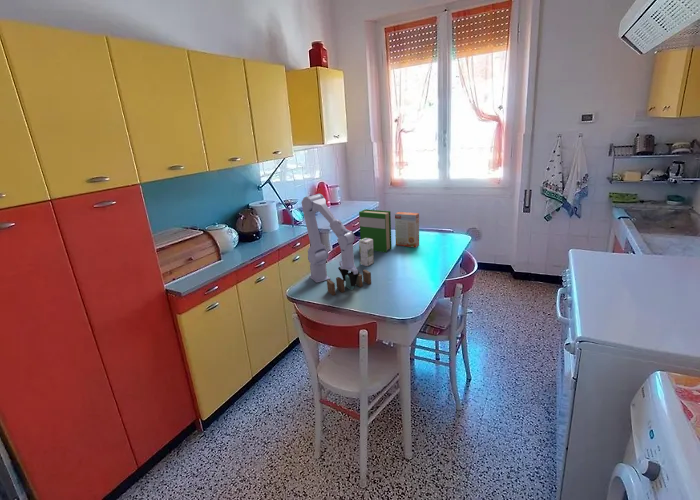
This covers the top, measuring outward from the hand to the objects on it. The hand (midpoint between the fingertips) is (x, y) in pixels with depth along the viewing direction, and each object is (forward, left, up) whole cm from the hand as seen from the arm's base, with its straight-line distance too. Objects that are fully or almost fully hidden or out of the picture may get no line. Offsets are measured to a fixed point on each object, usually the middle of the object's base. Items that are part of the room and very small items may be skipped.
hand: (349, 283), depth 177 cm
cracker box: (-32, +60, -3) cm, 68 cm away
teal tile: (0, 0, -2) cm, 2 cm away
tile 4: (0, +10, -2) cm, 10 cm away
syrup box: (-21, +23, -3) cm, 31 cm away
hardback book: (-39, +41, -3) cm, 57 cm away
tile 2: (0, -5, -2) cm, 6 cm away
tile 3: (0, +5, -2) cm, 6 cm away
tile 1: (0, -10, -2) cm, 10 cm away
